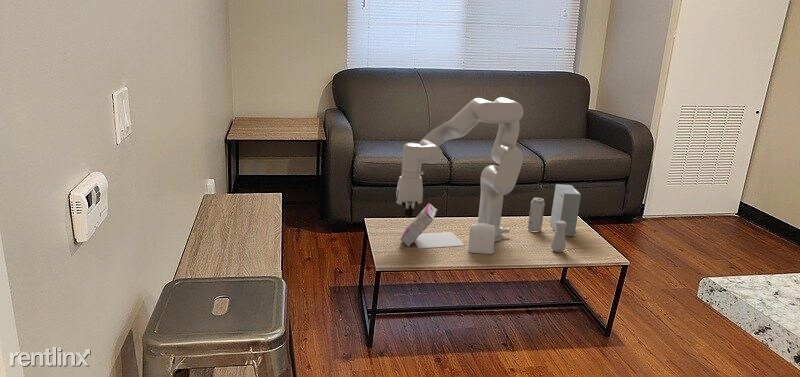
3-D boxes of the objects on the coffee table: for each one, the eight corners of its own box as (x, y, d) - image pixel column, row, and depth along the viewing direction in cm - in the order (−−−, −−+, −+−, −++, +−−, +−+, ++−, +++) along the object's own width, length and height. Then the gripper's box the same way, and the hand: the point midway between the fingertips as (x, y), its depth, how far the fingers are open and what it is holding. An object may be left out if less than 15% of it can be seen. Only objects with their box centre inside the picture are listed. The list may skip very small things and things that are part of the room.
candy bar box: (404, 229, 240) (428, 202, 234) (413, 236, 240) (438, 209, 234) (399, 239, 230) (424, 211, 224) (408, 247, 230) (434, 219, 224)
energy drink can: (527, 227, 260) (531, 196, 256) (540, 228, 259) (545, 197, 255) (527, 231, 255) (531, 200, 250) (541, 233, 254) (545, 201, 249)
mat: (451, 232, 249) (451, 231, 249) (464, 245, 235) (464, 245, 235) (408, 234, 243) (408, 234, 243) (418, 248, 229) (418, 248, 229)
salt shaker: (547, 249, 237) (551, 219, 233) (558, 247, 239) (562, 218, 235) (556, 254, 232) (560, 224, 228) (567, 252, 234) (572, 223, 230)
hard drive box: (574, 237, 252) (581, 194, 246) (557, 236, 252) (564, 193, 246) (565, 225, 266) (571, 184, 261) (549, 224, 266) (555, 183, 260)
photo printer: (468, 253, 228) (471, 224, 224) (467, 249, 232) (470, 220, 228) (493, 255, 228) (497, 226, 224) (492, 250, 232) (495, 222, 228)
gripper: (425, 171, 233) (422, 213, 238) (390, 172, 229) (388, 214, 234) (431, 176, 226) (428, 219, 231) (395, 177, 222) (393, 221, 227)
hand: (408, 216), depth 233 cm, fingers closed
